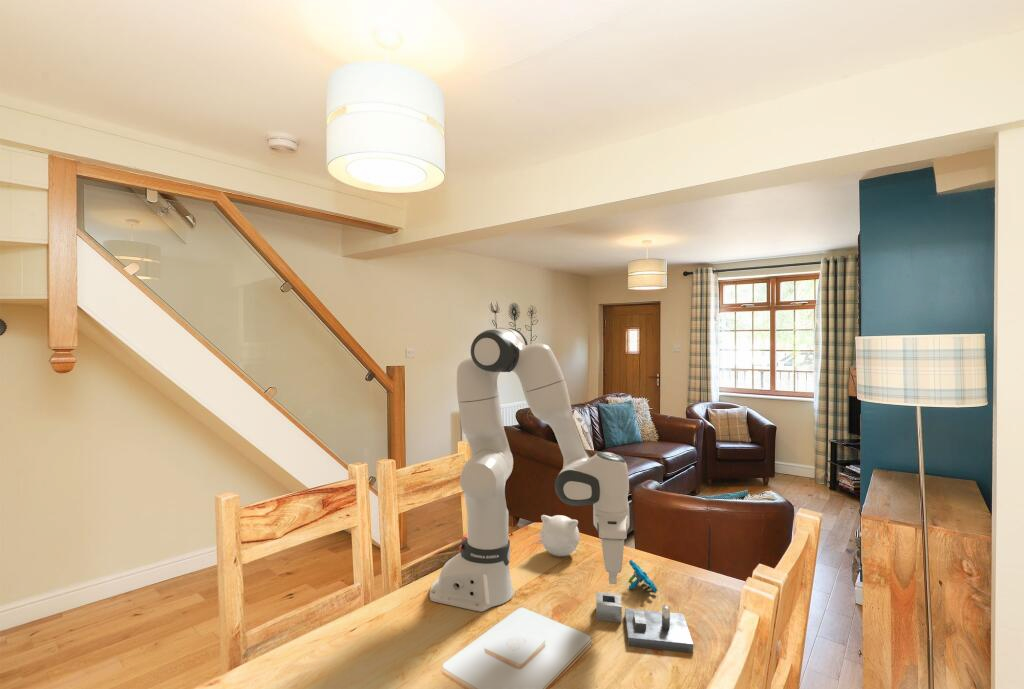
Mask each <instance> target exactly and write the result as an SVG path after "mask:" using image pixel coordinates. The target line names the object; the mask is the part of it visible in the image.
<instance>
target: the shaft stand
mask: <svg viewBox="0 0 1024 689" xmlns="http://www.w3.org/2000/svg"><path fill="white" fill-rule="evenodd" d="M661 607H662V608H661V611H658V610H646V609H645V610H644V609H636V608H635V609H634V608H626V607H625V608H624V619H625V620H624V621H625V629H626V636H627V645H628V646H627V647H630V648H631V647H633V648H643V649H651V650H652V649H653V650H661V651H671V652H672V651H673V652H681V653H690V654H693V653H694V642H693V639H692V636H691V633H690V631H689V630H690V629H689V626H688V624H687V620H686V618H685V615H684V613H681V612H680V613H679V612H671V606H670V605H667V604H664V605H662V606H661Z"/></svg>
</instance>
